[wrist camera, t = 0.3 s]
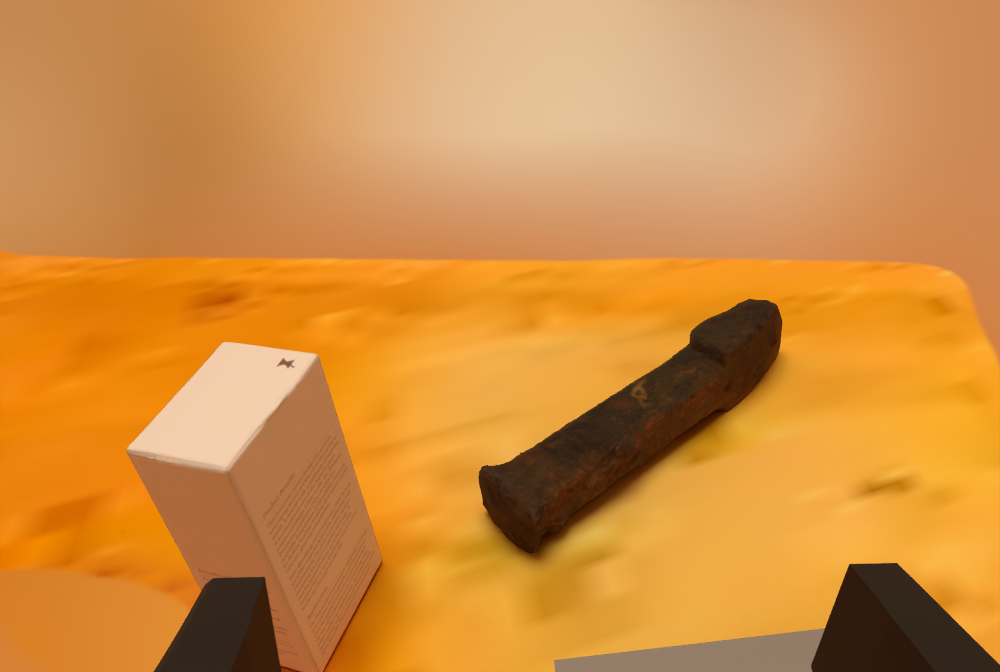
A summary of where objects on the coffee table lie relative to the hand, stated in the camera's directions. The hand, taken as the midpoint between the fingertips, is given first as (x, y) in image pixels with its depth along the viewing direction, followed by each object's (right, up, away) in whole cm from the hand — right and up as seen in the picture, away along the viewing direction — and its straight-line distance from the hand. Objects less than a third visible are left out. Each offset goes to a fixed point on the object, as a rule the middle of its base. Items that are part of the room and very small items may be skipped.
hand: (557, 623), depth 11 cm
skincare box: (-9, -8, +26) cm, 28 cm away
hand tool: (+7, -2, +32) cm, 33 cm away
